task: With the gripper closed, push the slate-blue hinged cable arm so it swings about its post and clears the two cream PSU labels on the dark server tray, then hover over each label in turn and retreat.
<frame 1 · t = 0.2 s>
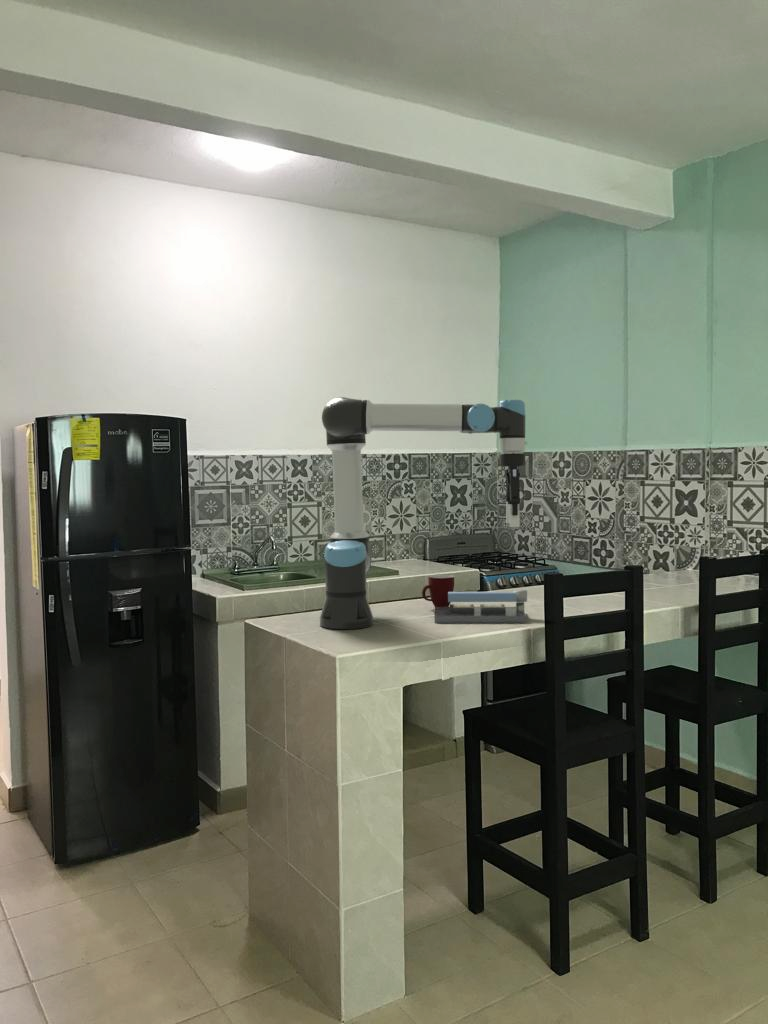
hand: (512, 525, 248), 27 cm above the countertop, fingers open, 13 cm apart
server tray: (479, 617, 247), on the countertop
mug: (438, 608, 263), on the countertop
cable arm: (487, 595, 246), point 6 cm above the countertop, hinge at 0.0°
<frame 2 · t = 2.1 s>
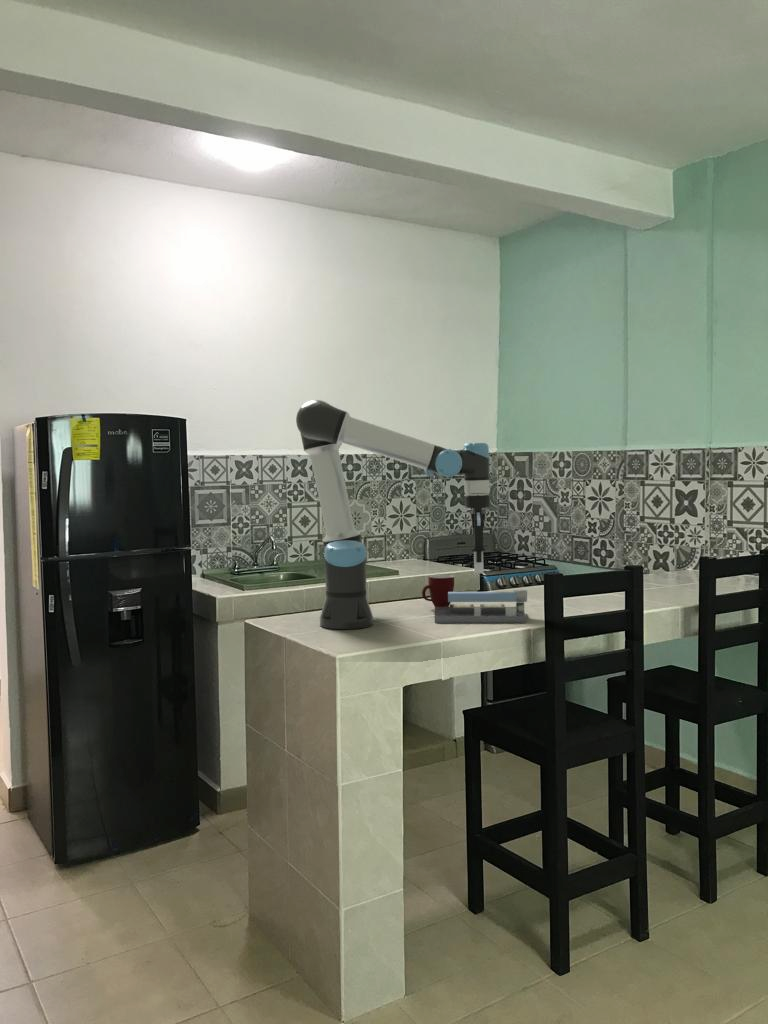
hand: (478, 572, 253), 12 cm above the countertop, fingers closed
nothing on the countertop moved.
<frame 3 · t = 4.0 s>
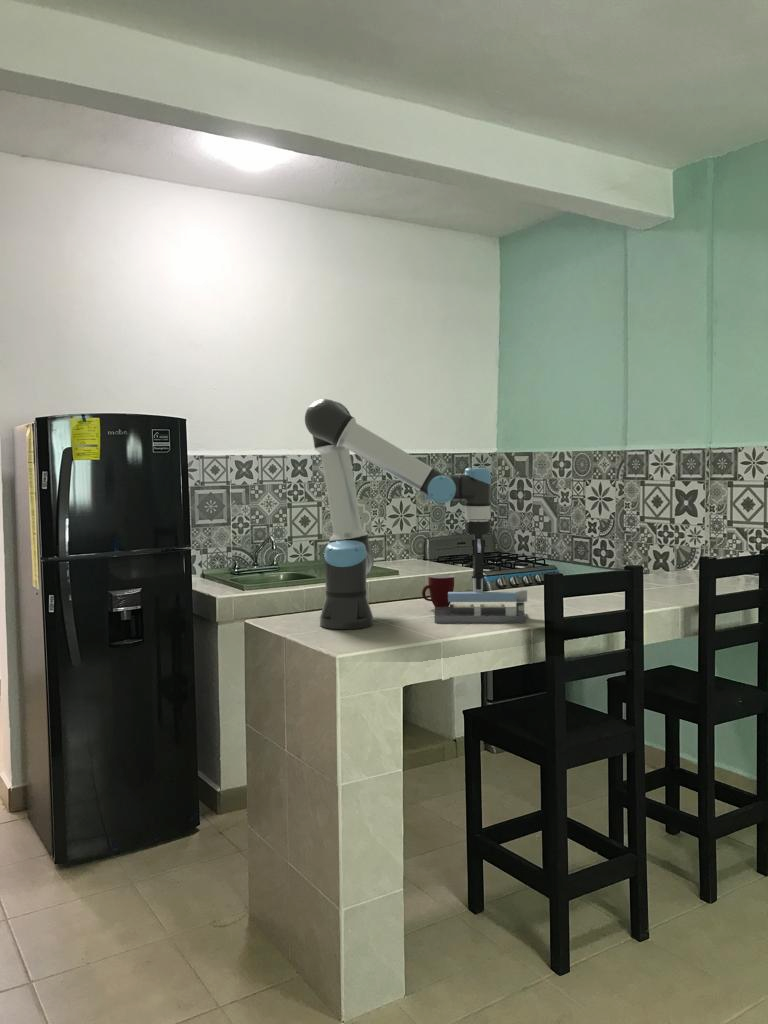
hand: (478, 599, 248), 5 cm above the countertop, fingers closed
cable arm: (487, 595, 246), point 6 cm above the countertop, hinge at 0.4°, touching gripper
everything else where it was.
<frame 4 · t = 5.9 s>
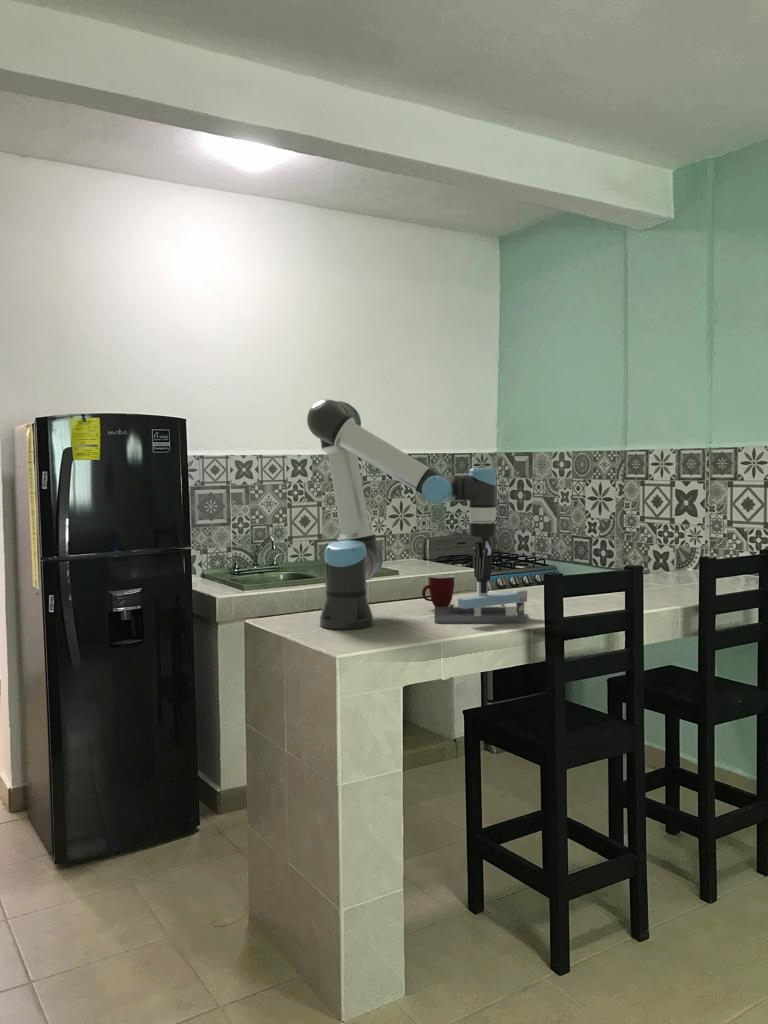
hand: (482, 603, 242), 5 cm above the countertop, fingers closed
cable arm: (494, 598, 241), point 6 cm above the countertop, hinge at 33.8°, touching gripper
everything else where it was.
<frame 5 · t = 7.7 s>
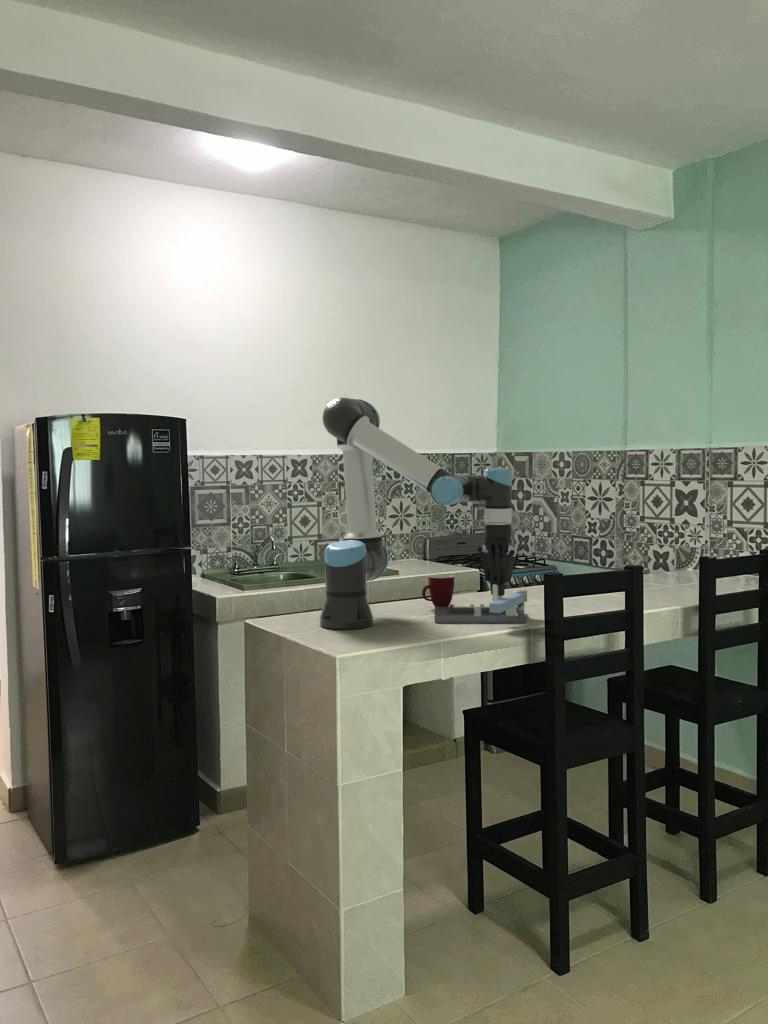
hand: (497, 606, 236), 5 cm above the countertop, fingers closed
cable arm: (509, 600, 237), point 6 cm above the countertop, hinge at 65.6°, touching gripper
everything else where it was.
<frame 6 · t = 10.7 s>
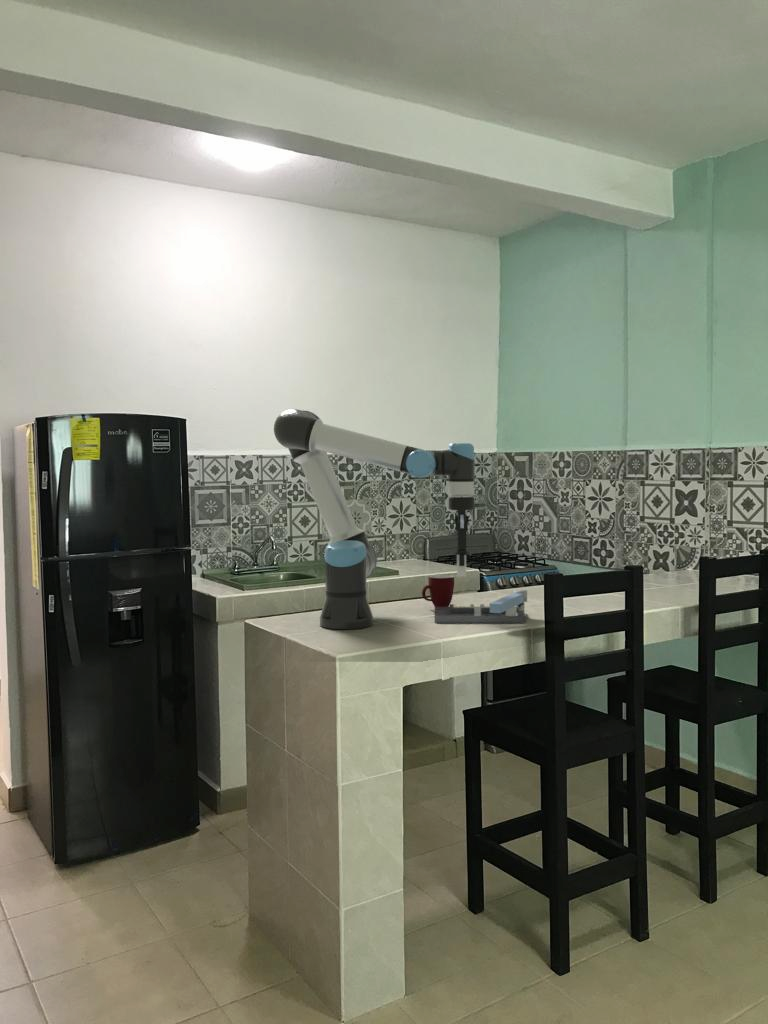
hand: (461, 576, 246), 12 cm above the countertop, fingers closed
cable arm: (509, 600, 237), point 6 cm above the countertop, hinge at 65.8°
everything else where it was.
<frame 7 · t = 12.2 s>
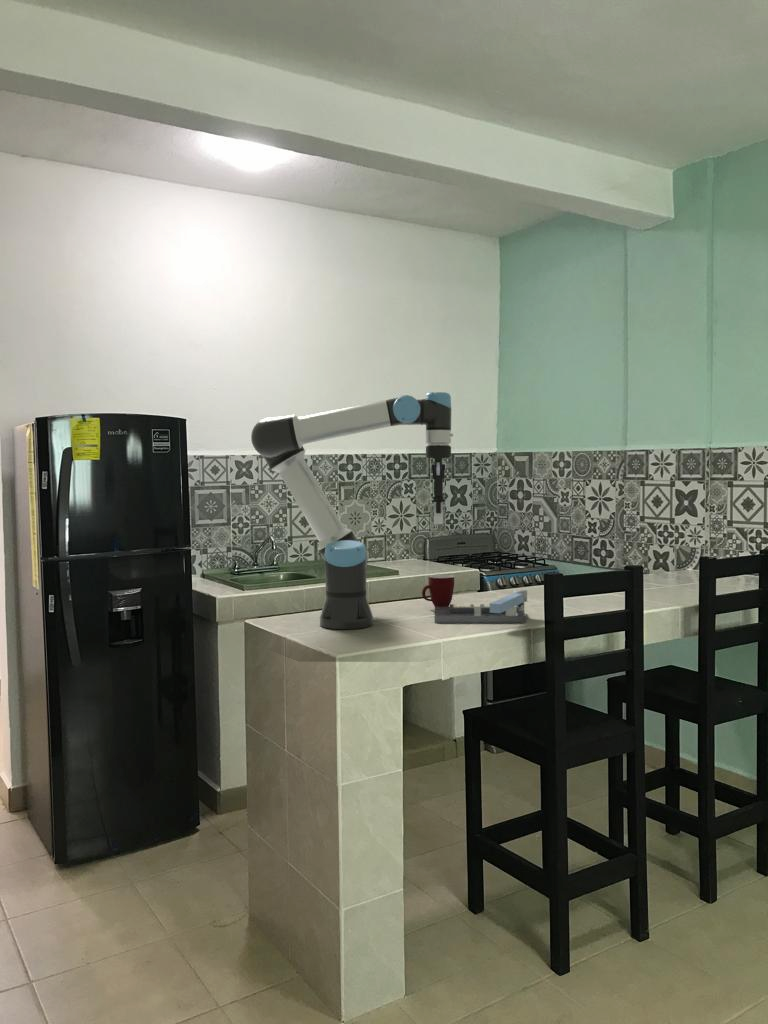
hand: (438, 523, 251), 27 cm above the countertop, fingers closed
nothing on the countertop moved.
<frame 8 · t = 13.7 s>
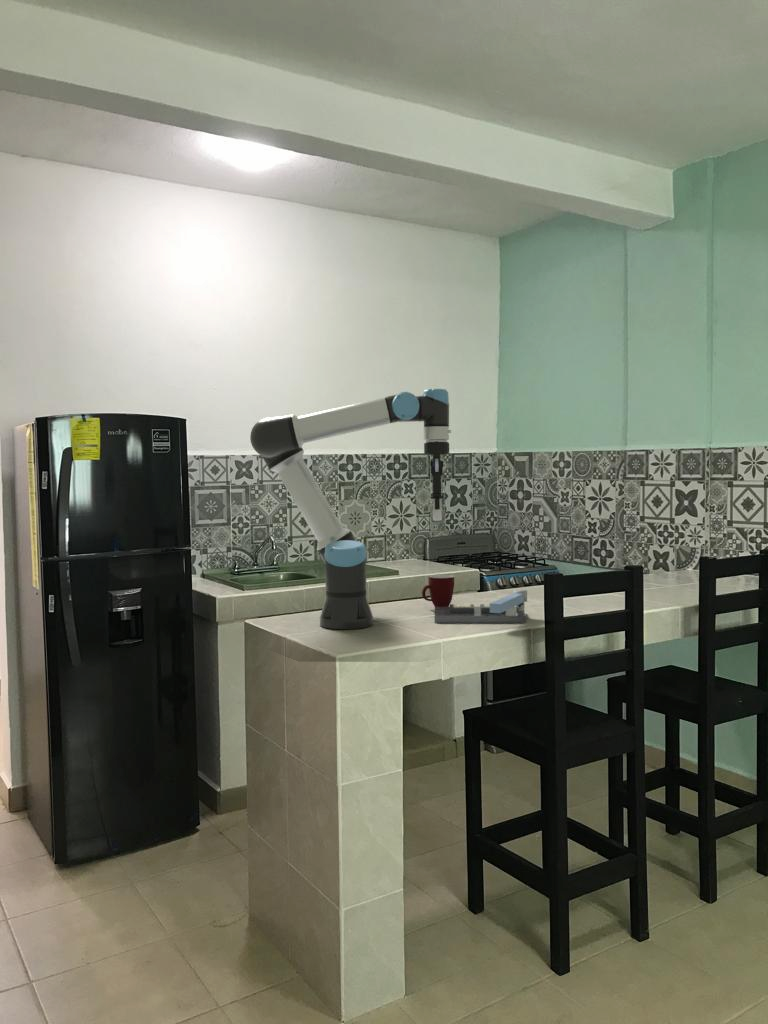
hand: (437, 520, 252), 28 cm above the countertop, fingers closed
nothing on the countertop moved.
at the end: cable arm at +66° (first picture: +0°); mug moved 0.2 cm from its start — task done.
